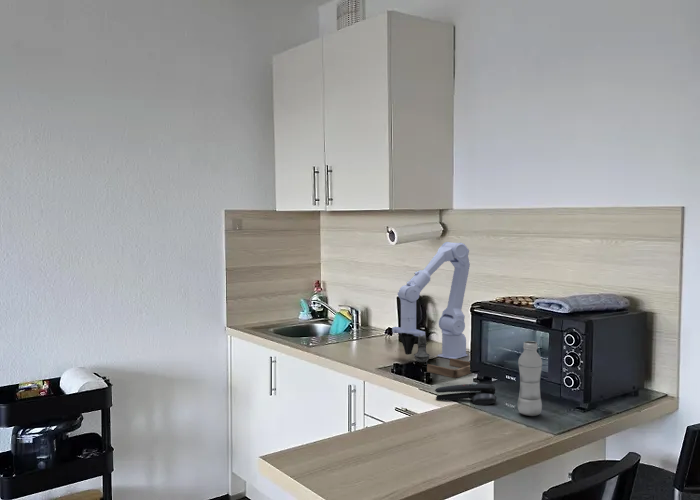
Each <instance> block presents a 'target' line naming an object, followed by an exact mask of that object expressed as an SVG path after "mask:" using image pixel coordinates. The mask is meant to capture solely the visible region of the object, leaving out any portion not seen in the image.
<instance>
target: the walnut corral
mask: <svg viewBox="0 0 700 500" xmlns="http://www.w3.org/2000/svg"><path fill="white" fill-rule="evenodd" d="M470 362H471V361H468V360H463V359H462V360H461V359H459V358H457V359H453V358H450V359H449V366H450V367H455V368H456V369H453V368H449V367H445V366H444V367H443V366H440V365H435V364H430V363H428V365H427V366H426V372H427V373H430V374H435V375H439V376H440V375H441V376H444V377H447V378H453V379H457V378H460V377H463V376H466V375H470V374H472V373H471V372H470Z"/></svg>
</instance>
